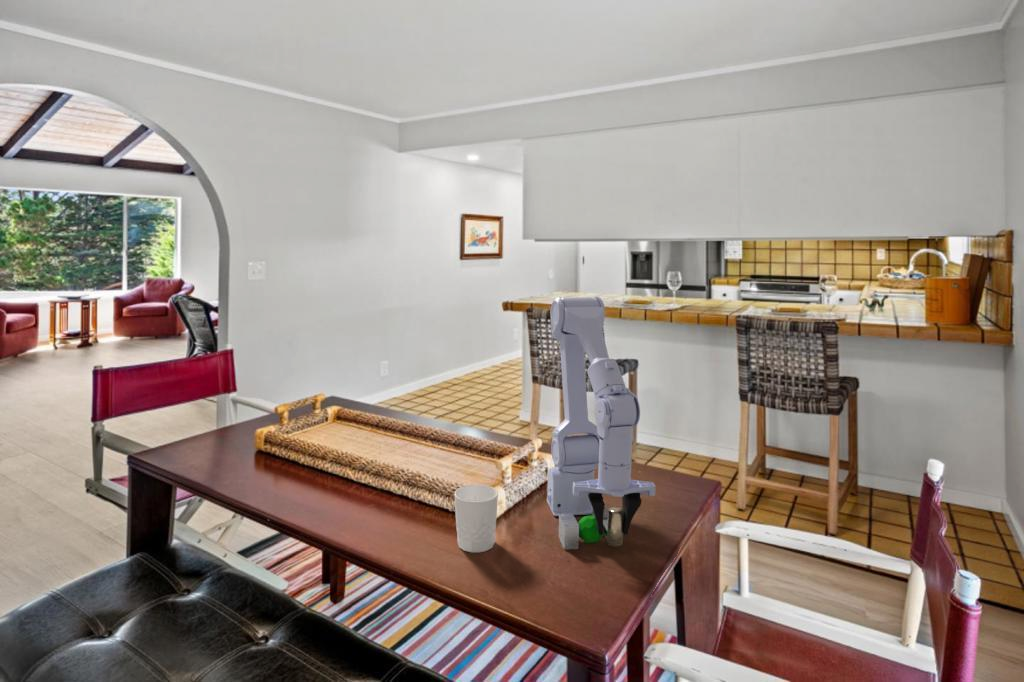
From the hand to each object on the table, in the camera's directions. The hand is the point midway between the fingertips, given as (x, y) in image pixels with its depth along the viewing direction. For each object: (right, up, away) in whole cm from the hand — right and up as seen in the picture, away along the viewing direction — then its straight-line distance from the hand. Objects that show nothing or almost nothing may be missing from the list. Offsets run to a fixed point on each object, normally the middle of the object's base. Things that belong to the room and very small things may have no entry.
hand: (611, 532), depth 111 cm
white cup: (-25, -3, +2) cm, 25 cm away
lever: (0, -1, +5) cm, 5 cm away
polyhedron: (-4, -3, +4) cm, 6 cm away
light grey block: (-8, -3, +3) cm, 9 cm away
